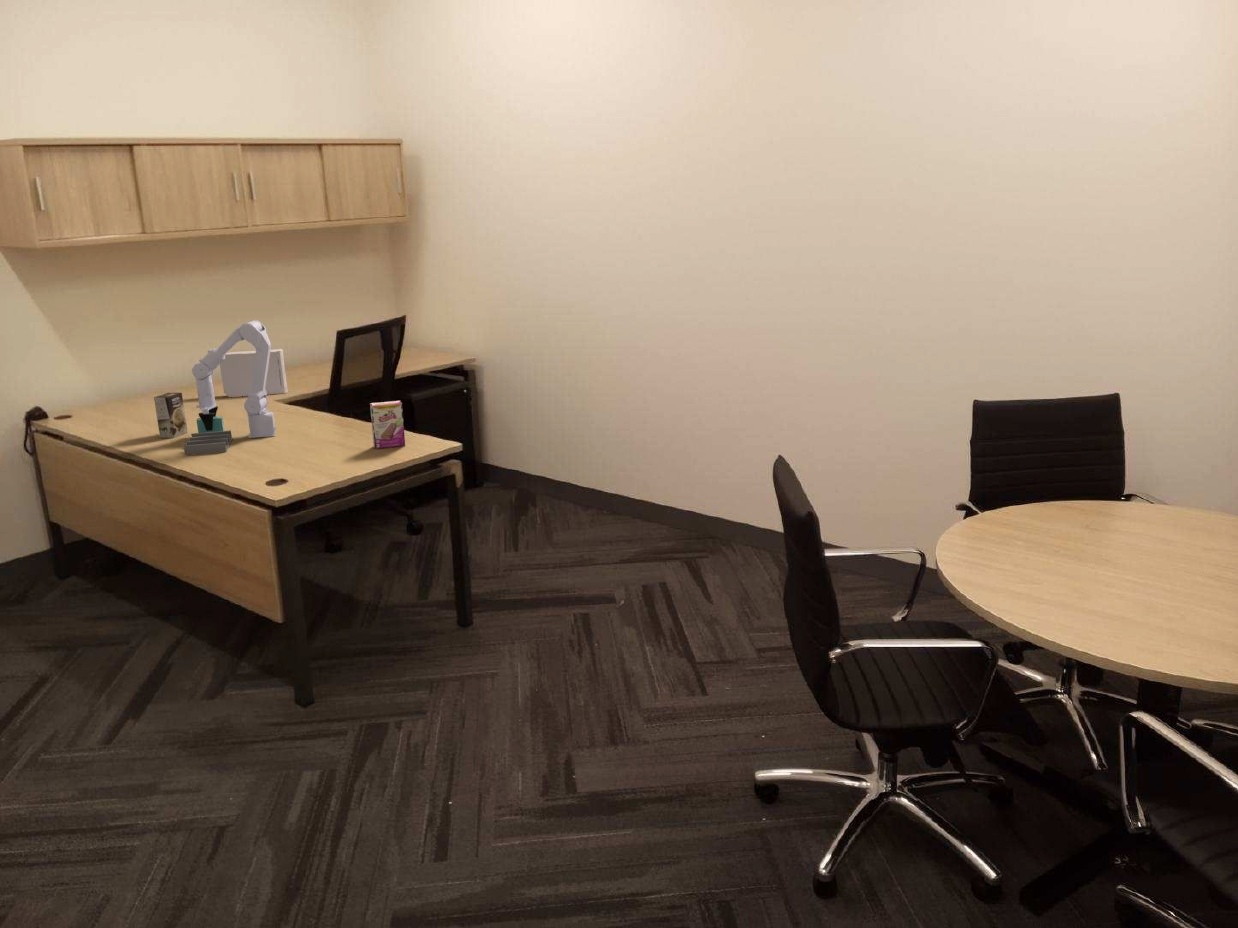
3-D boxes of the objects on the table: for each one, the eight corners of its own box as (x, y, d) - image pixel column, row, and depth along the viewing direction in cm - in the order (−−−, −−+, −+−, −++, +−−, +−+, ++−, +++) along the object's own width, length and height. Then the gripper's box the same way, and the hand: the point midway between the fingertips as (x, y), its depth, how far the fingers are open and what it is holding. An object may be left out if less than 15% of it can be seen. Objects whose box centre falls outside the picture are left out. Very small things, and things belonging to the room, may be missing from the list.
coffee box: (174, 438, 373) (167, 397, 368) (159, 437, 374) (152, 397, 369) (188, 432, 381) (182, 392, 377) (174, 431, 383) (167, 391, 378)
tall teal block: (225, 434, 377) (222, 416, 374) (224, 437, 373) (221, 418, 371) (200, 436, 375) (197, 418, 372) (199, 439, 371) (196, 420, 369)
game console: (287, 393, 446) (282, 350, 440) (224, 398, 439) (218, 355, 433) (287, 391, 451) (282, 348, 445) (225, 395, 444) (219, 352, 438)
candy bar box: (375, 449, 351) (370, 405, 346) (373, 446, 356) (369, 403, 351) (406, 446, 355) (402, 402, 350) (404, 443, 359) (400, 400, 355)
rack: (232, 439, 370) (230, 430, 369) (226, 452, 352) (224, 442, 351) (193, 442, 366) (191, 433, 365) (185, 455, 349) (183, 446, 348)
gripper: (197, 390, 375) (202, 424, 379) (191, 398, 361) (196, 433, 365) (216, 389, 376) (221, 422, 380) (211, 397, 363) (216, 432, 367)
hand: (210, 428), depth 373 cm, fingers open, 7 cm apart
